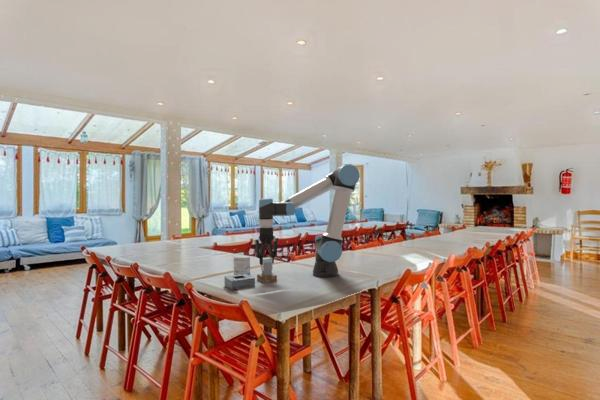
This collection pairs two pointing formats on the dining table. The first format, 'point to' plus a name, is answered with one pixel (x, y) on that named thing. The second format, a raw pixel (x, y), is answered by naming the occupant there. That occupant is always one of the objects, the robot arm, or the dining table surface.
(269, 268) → the plug
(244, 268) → the ink box
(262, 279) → the brown hollow block
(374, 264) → the dining table surface
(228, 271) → the dining table surface
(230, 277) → the block
